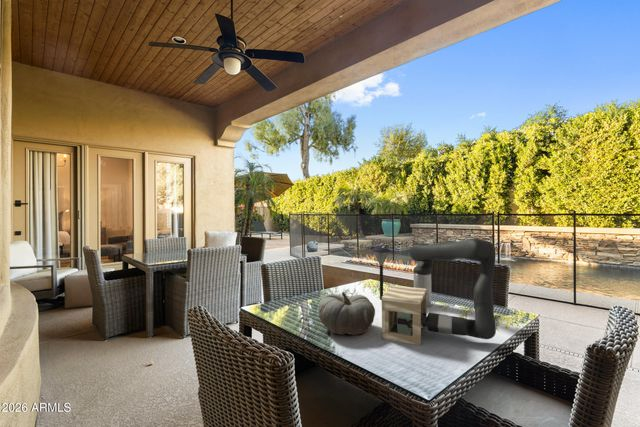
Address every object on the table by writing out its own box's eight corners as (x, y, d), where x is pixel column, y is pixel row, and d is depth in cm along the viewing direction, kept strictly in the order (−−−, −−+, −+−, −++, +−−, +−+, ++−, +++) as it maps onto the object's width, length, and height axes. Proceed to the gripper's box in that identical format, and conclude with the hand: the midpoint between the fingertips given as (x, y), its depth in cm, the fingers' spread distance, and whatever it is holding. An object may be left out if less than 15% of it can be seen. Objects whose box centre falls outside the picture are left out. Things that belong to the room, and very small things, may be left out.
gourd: (308, 317, 149) (315, 281, 148) (355, 319, 158) (362, 285, 157) (327, 344, 126) (335, 302, 124) (381, 344, 134) (389, 305, 133)
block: (399, 329, 140) (399, 307, 140) (411, 331, 138) (411, 308, 138) (397, 333, 135) (397, 310, 135) (409, 335, 133) (409, 312, 133)
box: (392, 322, 149) (392, 285, 148) (426, 326, 142) (426, 288, 142) (382, 338, 130) (381, 297, 130) (420, 345, 124) (420, 301, 124)
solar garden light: (369, 301, 181) (369, 249, 181) (372, 295, 193) (371, 246, 192) (391, 303, 178) (391, 249, 177) (393, 297, 189) (392, 246, 189)
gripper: (441, 309, 137) (402, 304, 144) (438, 320, 124) (396, 314, 131) (441, 326, 137) (402, 321, 144) (438, 339, 124) (396, 332, 131)
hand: (399, 317), depth 137 cm, fingers open, 7 cm apart
